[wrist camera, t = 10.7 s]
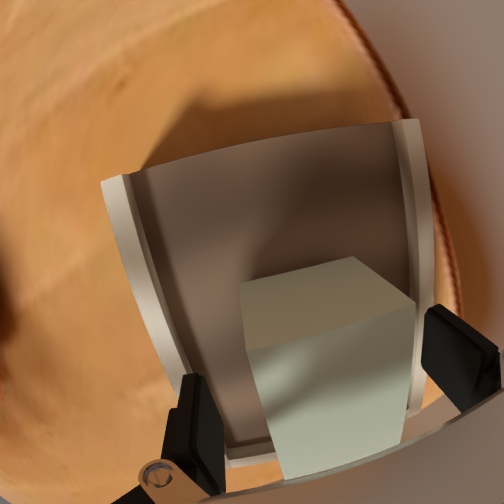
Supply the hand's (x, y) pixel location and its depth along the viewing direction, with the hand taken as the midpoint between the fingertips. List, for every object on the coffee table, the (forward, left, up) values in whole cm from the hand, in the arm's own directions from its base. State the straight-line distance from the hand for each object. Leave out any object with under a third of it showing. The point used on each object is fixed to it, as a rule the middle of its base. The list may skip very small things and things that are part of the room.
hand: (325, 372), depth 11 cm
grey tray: (0, 0, -8) cm, 8 cm away
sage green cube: (0, 0, -4) cm, 4 cm away
